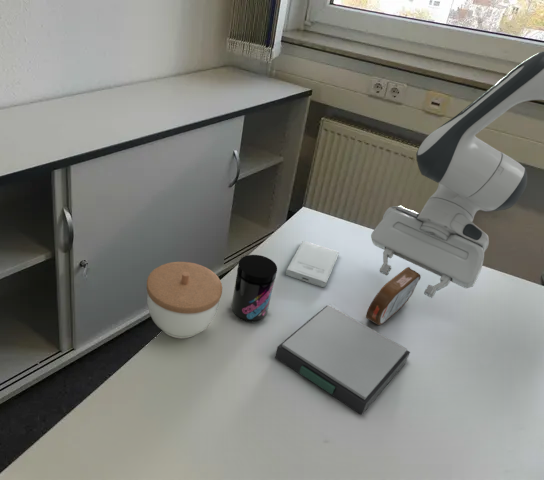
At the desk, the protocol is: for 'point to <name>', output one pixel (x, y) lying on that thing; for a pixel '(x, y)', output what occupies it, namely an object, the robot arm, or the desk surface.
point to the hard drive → (312, 263)
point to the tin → (393, 296)
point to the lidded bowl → (183, 298)
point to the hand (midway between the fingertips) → (404, 284)
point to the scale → (343, 357)
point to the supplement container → (253, 287)
